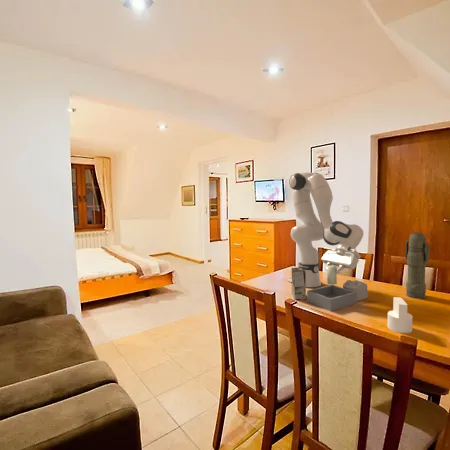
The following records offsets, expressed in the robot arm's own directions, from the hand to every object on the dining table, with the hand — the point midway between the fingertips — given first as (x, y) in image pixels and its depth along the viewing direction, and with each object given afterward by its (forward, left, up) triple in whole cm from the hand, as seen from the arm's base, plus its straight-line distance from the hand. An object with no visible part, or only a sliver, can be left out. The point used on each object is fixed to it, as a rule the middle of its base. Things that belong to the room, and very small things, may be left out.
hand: (331, 271), depth 152 cm
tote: (0, 0, -17) cm, 17 cm away
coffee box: (-16, -8, -17) cm, 25 cm away
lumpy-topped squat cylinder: (0, +17, -17) cm, 24 cm away
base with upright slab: (+36, +1, -17) cm, 40 cm away
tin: (0, 0, -6) cm, 6 cm away
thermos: (+18, +46, -17) cm, 52 cm away
